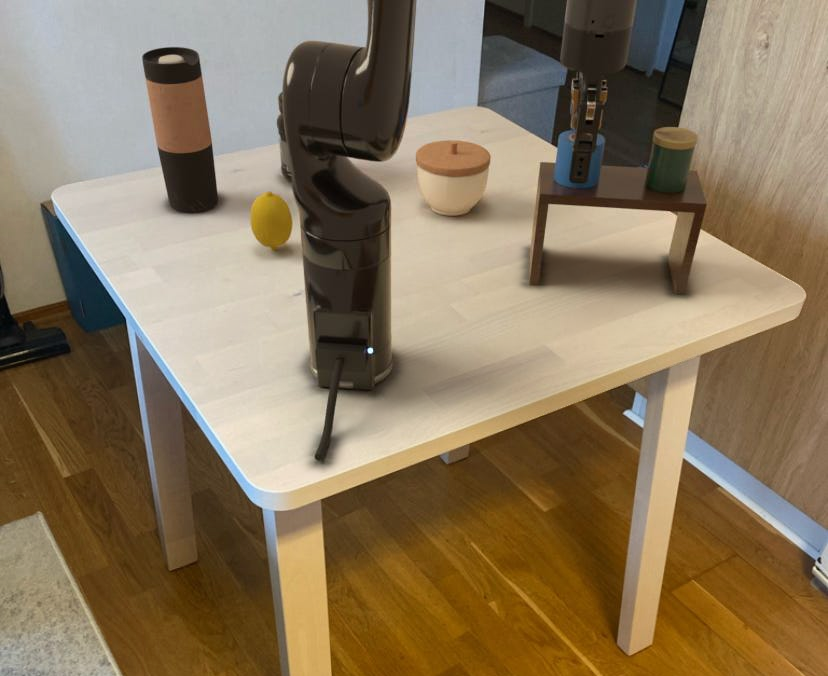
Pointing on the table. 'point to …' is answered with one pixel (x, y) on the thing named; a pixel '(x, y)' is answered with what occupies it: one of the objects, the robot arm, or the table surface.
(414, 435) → the table surface
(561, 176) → the tape roll
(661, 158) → the tea tin
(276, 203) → the lemon
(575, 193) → the shelf
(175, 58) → the travel mug
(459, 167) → the trinket box
